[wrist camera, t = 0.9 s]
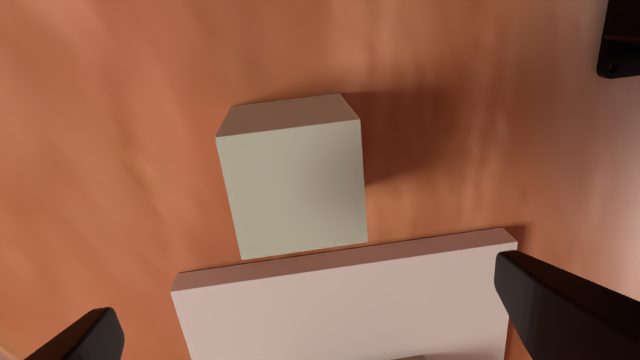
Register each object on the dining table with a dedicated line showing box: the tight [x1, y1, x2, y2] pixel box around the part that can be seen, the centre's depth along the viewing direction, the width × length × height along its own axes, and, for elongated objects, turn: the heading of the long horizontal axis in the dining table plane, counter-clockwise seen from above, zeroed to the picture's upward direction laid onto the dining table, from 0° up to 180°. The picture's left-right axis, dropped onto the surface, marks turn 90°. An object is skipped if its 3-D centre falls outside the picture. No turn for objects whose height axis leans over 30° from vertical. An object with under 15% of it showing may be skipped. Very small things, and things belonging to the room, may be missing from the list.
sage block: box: [215, 93, 368, 260], centre depth 17 cm, size 5×5×5 cm
